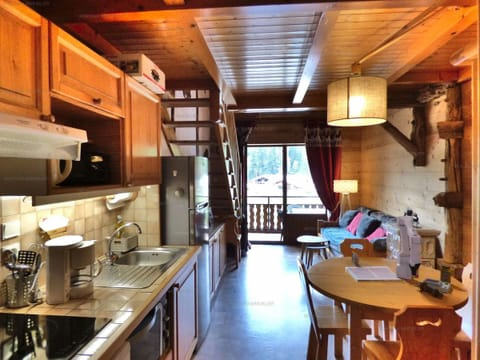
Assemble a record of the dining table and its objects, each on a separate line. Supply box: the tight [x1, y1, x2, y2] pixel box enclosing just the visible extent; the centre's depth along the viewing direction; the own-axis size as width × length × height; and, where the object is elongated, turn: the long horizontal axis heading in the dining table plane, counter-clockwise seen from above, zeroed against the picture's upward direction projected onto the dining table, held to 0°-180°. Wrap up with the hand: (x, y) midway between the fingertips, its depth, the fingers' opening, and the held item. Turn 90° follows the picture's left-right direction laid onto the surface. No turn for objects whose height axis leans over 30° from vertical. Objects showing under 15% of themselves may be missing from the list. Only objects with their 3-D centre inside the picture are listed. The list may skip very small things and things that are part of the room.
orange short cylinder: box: [411, 269, 420, 279], centre depth 201 cm, size 4×4×6 cm
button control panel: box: [422, 277, 451, 294], centre depth 201 cm, size 14×12×4 cm
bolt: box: [418, 281, 445, 299], centre depth 190 cm, size 6×5×15 cm
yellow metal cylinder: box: [439, 264, 452, 285], centre depth 209 cm, size 7×8×12 cm
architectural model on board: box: [351, 249, 360, 266], centre depth 254 cm, size 11×3×10 cm, turn 174°
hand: (414, 274), depth 202 cm, fingers closed on orange short cylinder, 4 cm apart
